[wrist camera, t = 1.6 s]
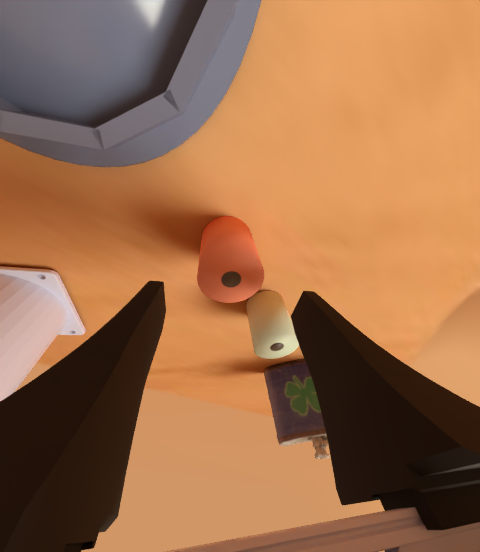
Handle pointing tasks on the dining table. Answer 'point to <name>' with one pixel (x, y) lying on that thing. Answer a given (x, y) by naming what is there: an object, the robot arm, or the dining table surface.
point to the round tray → (116, 74)
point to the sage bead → (270, 325)
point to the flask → (296, 406)
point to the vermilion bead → (229, 261)
